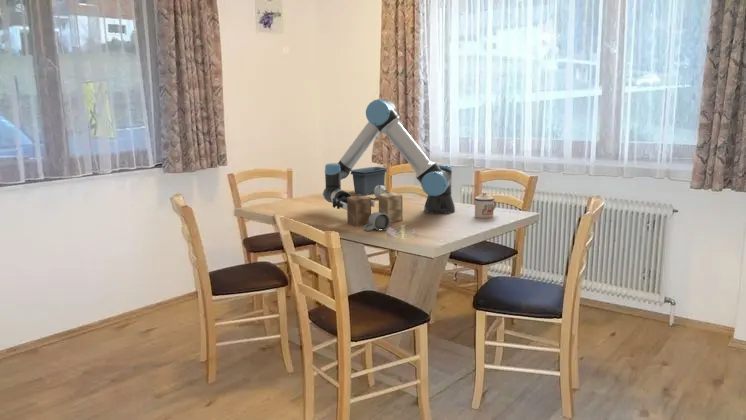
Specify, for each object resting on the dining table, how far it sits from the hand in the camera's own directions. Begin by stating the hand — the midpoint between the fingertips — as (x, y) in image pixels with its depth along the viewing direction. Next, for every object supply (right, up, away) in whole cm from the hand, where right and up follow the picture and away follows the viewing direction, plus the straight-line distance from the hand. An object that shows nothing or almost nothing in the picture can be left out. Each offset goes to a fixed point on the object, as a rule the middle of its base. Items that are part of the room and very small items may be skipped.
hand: (360, 205), depth 273 cm
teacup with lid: (+60, -5, +16) cm, 62 cm away
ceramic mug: (+7, -11, -9) cm, 16 cm away
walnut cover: (0, -8, +3) cm, 9 cm away
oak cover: (+14, -7, +10) cm, 18 cm away
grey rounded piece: (+10, +4, +66) cm, 67 cm away
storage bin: (+3, +8, +86) cm, 86 cm away
